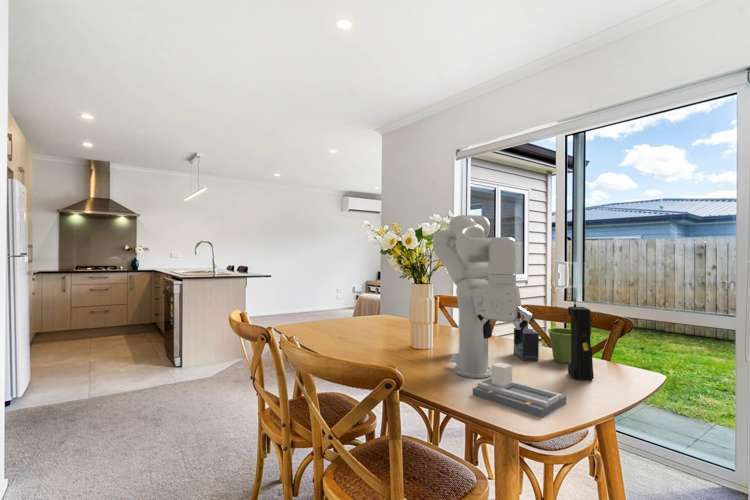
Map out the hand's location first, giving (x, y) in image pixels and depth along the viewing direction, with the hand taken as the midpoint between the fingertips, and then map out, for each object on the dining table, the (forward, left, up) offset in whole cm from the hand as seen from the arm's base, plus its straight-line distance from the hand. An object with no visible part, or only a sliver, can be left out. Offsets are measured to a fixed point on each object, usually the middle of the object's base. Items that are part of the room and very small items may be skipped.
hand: (502, 340), depth 112 cm
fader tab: (0, 0, -13) cm, 13 cm away
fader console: (+5, 0, -15) cm, 16 cm away
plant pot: (-3, +49, -16) cm, 52 cm away
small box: (-15, +43, -16) cm, 48 cm away
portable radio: (+9, +33, -16) cm, 38 cm away
